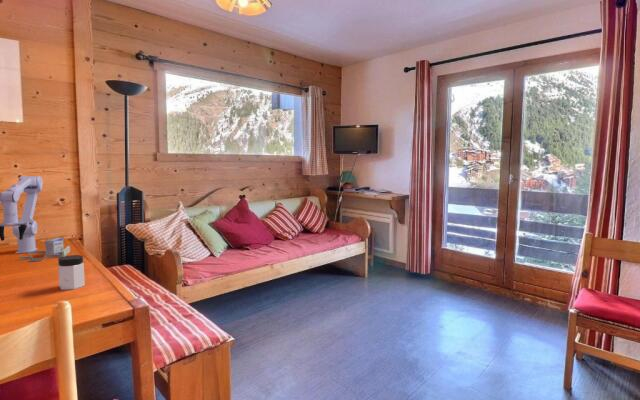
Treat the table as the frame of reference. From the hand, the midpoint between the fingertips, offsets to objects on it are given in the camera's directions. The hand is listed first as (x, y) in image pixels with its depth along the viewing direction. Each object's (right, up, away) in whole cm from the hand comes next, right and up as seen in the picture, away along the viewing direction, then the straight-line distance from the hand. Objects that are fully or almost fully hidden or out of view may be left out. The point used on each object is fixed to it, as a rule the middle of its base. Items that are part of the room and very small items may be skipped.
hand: (12, 239), depth 190 cm
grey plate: (+14, -9, +6) cm, 18 cm away
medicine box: (+17, -9, +7) cm, 21 cm away
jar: (+62, -14, -45) cm, 78 cm away
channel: (+14, -9, +6) cm, 18 cm away
